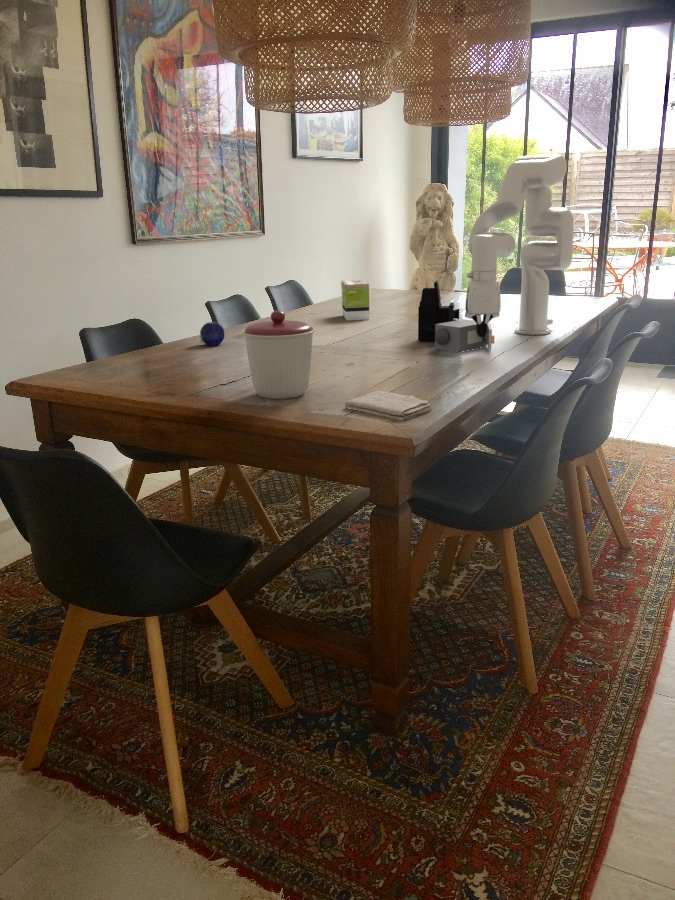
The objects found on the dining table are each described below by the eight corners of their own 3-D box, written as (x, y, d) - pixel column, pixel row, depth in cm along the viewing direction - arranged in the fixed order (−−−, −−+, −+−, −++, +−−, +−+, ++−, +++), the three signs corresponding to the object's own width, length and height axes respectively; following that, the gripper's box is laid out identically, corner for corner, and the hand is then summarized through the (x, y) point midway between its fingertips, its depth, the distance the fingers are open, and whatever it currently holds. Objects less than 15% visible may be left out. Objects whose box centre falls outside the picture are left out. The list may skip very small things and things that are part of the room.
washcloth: (404, 423, 164) (404, 409, 163) (342, 410, 175) (342, 397, 174) (434, 412, 173) (435, 399, 172) (373, 400, 184) (373, 388, 183)
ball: (203, 347, 254) (201, 325, 252) (198, 344, 261) (197, 322, 258) (226, 345, 257) (225, 323, 254) (221, 342, 264) (219, 320, 261)
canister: (331, 395, 187) (329, 310, 180) (268, 408, 177) (264, 318, 170) (292, 383, 201) (289, 303, 194) (232, 393, 191) (227, 310, 185)
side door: (486, 343, 244) (487, 323, 242) (491, 343, 243) (492, 323, 241) (487, 351, 232) (488, 330, 230) (493, 351, 232) (494, 330, 230)
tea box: (341, 315, 319) (340, 280, 315) (364, 314, 320) (364, 279, 316) (345, 320, 305) (345, 283, 301) (370, 319, 306) (369, 283, 302)
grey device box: (462, 343, 252) (463, 319, 249) (487, 346, 244) (488, 322, 242) (432, 349, 242) (432, 324, 239) (457, 353, 235) (457, 328, 232)
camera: (457, 343, 251) (459, 282, 244) (417, 343, 253) (417, 282, 247) (458, 338, 260) (460, 279, 254) (419, 338, 263) (420, 279, 256)
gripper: (463, 278, 224) (461, 339, 230) (511, 276, 226) (508, 337, 232) (456, 276, 232) (455, 335, 237) (503, 274, 233) (500, 333, 239)
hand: (481, 336), depth 234 cm, fingers closed
